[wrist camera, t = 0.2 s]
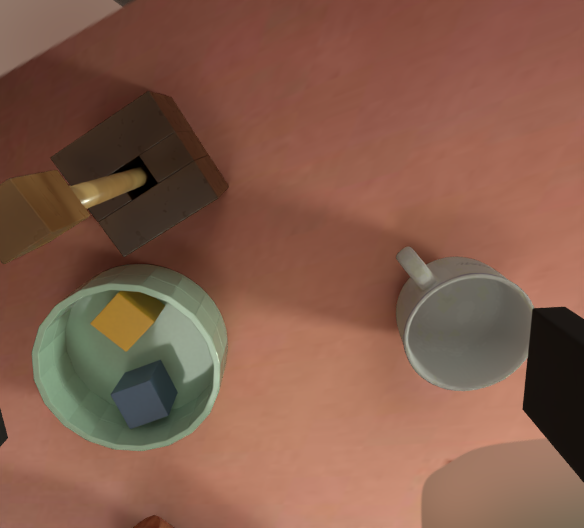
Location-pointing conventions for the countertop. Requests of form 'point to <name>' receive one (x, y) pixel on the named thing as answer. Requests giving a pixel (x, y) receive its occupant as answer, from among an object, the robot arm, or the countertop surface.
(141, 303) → the mustard block
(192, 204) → the holder
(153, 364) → the slate block
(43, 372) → the bowl
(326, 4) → the countertop surface
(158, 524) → the potted plant
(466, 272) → the teacup
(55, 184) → the brown wooden peg
